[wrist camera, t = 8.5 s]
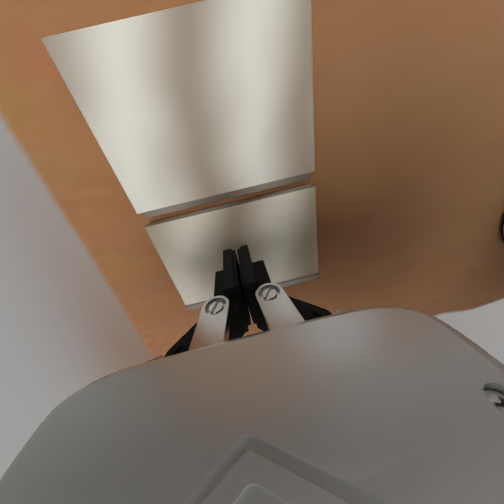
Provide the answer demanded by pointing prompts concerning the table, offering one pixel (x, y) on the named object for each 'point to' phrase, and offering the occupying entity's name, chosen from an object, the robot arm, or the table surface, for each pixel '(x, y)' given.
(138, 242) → the table surface
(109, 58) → the laid board
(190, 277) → the plank
